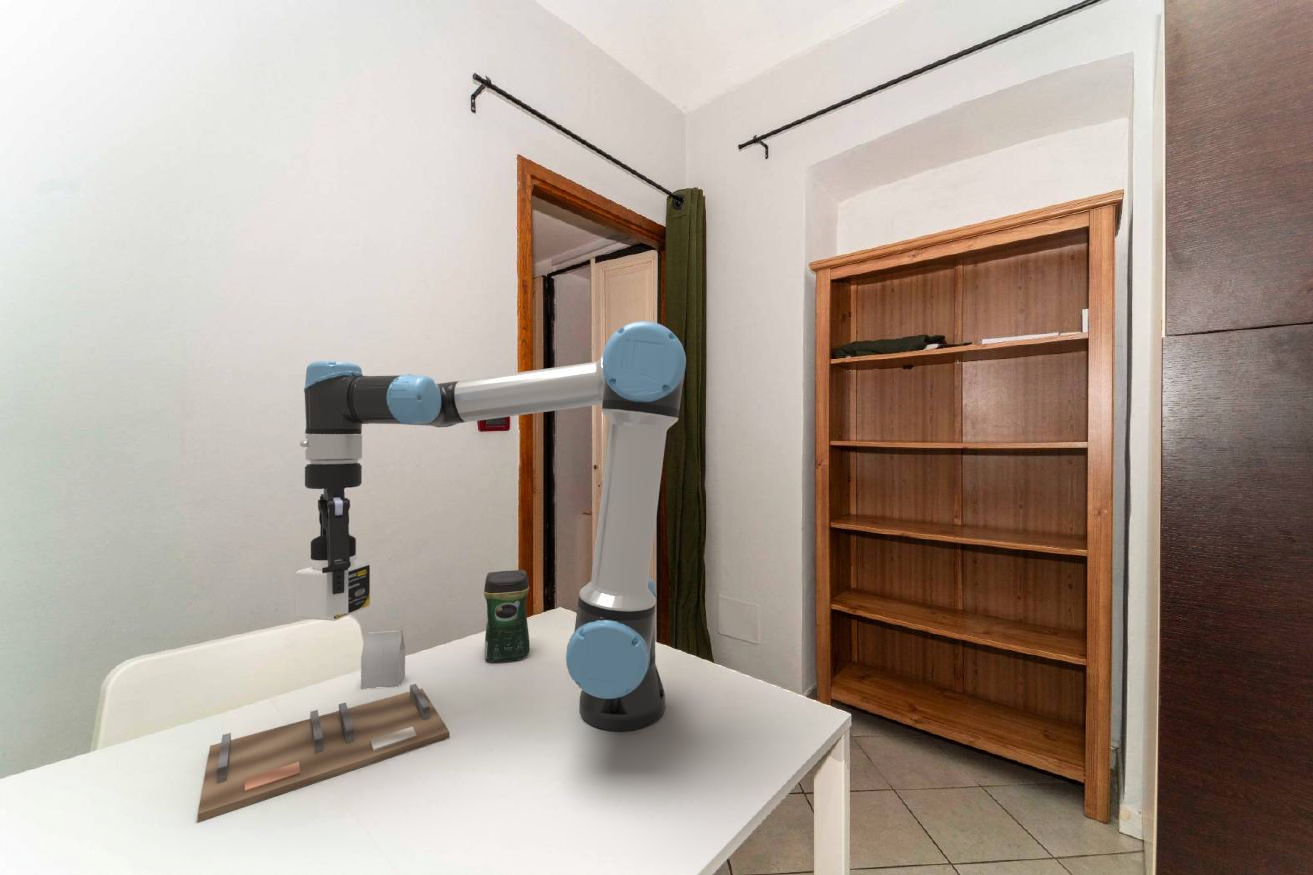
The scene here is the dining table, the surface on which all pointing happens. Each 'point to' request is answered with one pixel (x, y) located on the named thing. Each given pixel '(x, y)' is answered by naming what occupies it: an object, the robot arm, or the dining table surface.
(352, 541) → the medicine bottle
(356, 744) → the stand
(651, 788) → the dining table surface
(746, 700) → the dining table surface
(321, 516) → the robot arm
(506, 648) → the coffee jar
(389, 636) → the grey boxy piece
